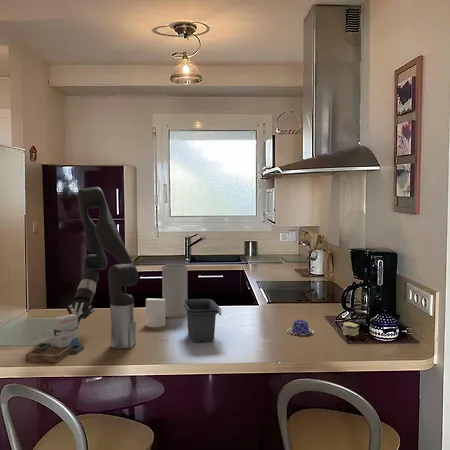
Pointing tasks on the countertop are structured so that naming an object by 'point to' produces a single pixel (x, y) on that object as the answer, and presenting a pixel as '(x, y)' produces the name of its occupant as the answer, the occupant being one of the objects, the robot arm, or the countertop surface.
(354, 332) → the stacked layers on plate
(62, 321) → the ink box
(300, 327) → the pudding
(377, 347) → the countertop surface
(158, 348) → the countertop surface
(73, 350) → the trap pits
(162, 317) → the cylinder with rectangular tab
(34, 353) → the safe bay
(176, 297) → the cylinder vase
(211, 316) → the storage bin
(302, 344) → the countertop surface
